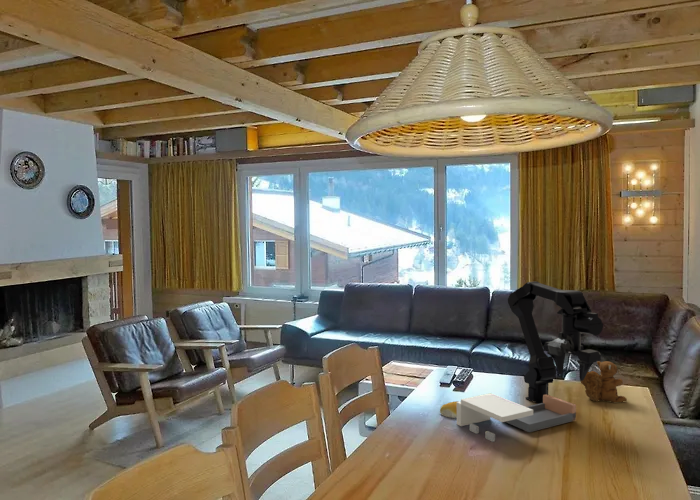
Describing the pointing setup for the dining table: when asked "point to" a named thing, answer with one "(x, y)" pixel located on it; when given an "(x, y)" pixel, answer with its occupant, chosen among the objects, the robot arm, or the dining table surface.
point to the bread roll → (449, 410)
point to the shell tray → (546, 414)
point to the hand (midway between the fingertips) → (570, 377)
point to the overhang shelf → (488, 411)
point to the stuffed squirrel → (603, 383)
